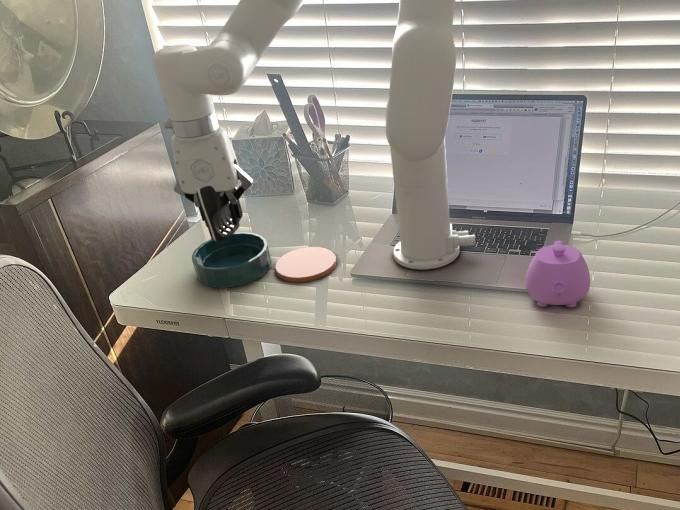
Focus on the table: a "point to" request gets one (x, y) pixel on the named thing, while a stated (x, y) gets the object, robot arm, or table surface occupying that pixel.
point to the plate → (305, 264)
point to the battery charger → (216, 213)
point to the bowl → (232, 260)
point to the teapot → (558, 276)
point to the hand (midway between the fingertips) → (224, 221)
